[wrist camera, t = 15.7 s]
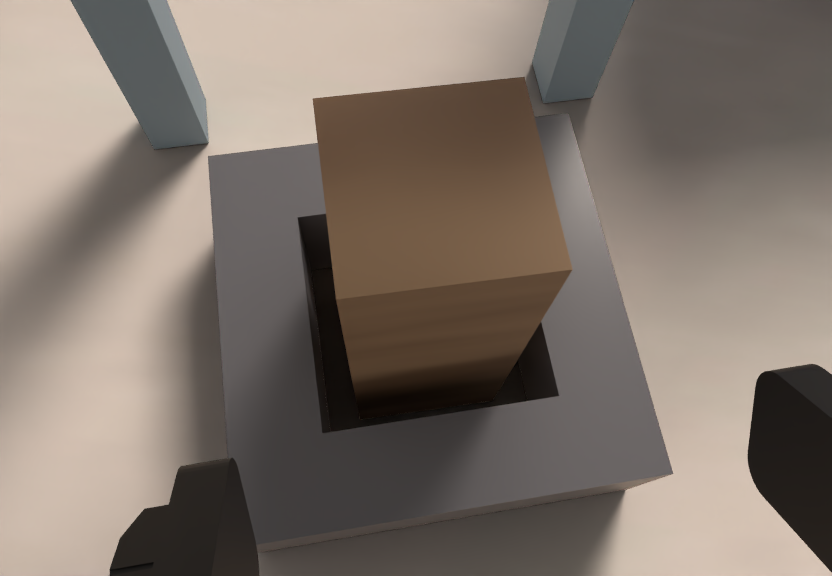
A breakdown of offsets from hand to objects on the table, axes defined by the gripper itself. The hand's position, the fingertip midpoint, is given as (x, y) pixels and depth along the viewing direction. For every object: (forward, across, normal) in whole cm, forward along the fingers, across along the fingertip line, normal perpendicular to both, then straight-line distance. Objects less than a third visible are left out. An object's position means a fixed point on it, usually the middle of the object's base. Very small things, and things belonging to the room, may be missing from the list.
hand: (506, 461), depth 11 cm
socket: (+12, 0, +4) cm, 13 cm away
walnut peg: (+12, 0, +5) cm, 13 cm away
